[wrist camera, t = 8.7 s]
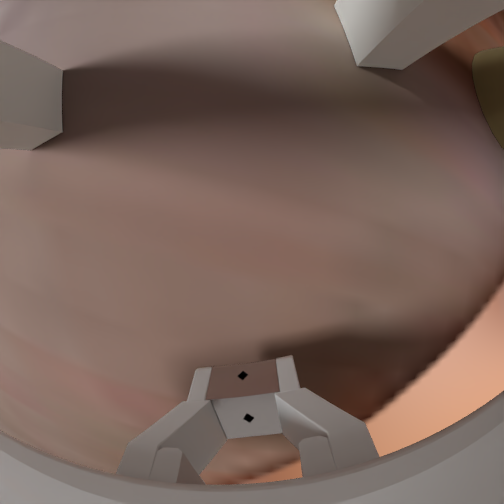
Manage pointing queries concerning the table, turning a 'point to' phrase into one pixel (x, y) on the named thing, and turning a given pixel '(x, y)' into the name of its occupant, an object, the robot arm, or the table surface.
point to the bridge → (351, 16)
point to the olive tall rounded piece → (491, 88)
